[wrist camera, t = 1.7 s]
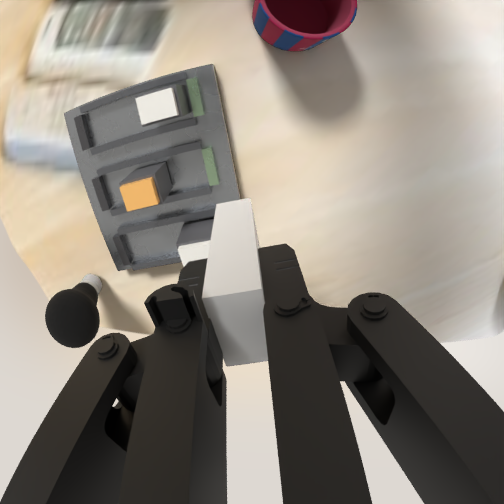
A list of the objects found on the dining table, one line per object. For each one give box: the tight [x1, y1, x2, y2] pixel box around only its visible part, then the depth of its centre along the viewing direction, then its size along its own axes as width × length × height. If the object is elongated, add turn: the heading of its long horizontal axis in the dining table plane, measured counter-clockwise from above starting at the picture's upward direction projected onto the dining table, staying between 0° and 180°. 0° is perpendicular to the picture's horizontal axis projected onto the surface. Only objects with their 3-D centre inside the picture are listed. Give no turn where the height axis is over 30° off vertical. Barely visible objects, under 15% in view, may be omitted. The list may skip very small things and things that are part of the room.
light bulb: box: [45, 274, 102, 348], centre depth 27 cm, size 6×6×10 cm
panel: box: [64, 64, 241, 271], centre depth 25 cm, size 17×14×2 cm
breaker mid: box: [119, 162, 173, 212], centre depth 23 cm, size 2×3×4 cm
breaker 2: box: [176, 218, 214, 267], centre depth 26 cm, size 2×3×4 cm
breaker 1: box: [135, 84, 190, 127], centre depth 20 cm, size 2×3×4 cm
